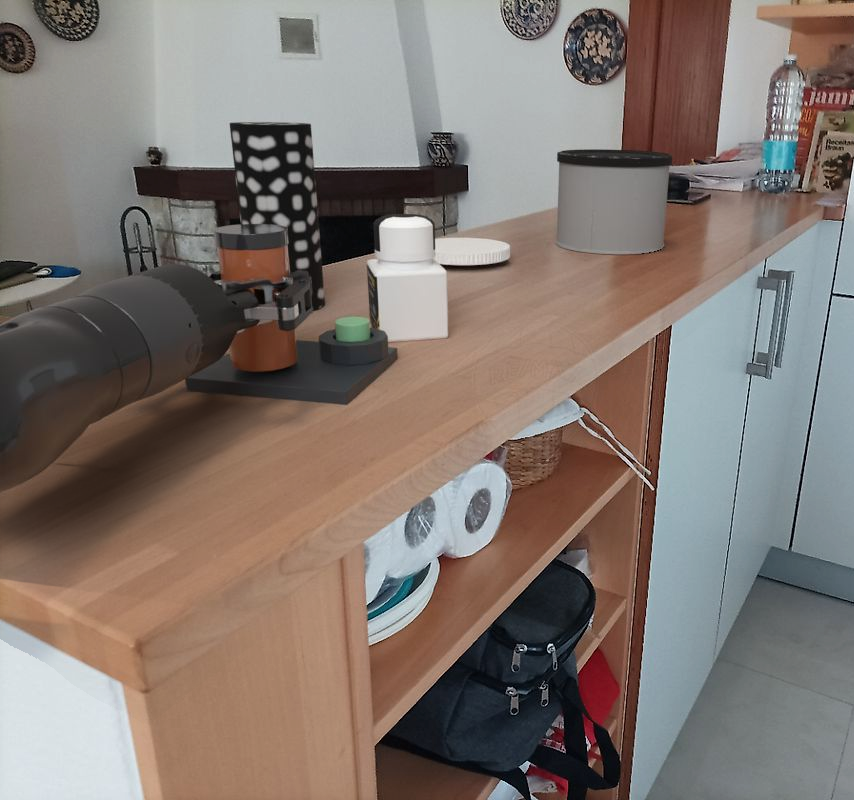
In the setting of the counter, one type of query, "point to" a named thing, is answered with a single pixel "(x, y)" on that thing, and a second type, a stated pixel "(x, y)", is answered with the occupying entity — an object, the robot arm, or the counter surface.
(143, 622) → the counter surface
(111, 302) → the robot arm
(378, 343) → the scale
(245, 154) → the spotted tube
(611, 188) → the container
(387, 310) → the medicine bottle
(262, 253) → the spice jar
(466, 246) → the plastic lid
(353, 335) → the button
